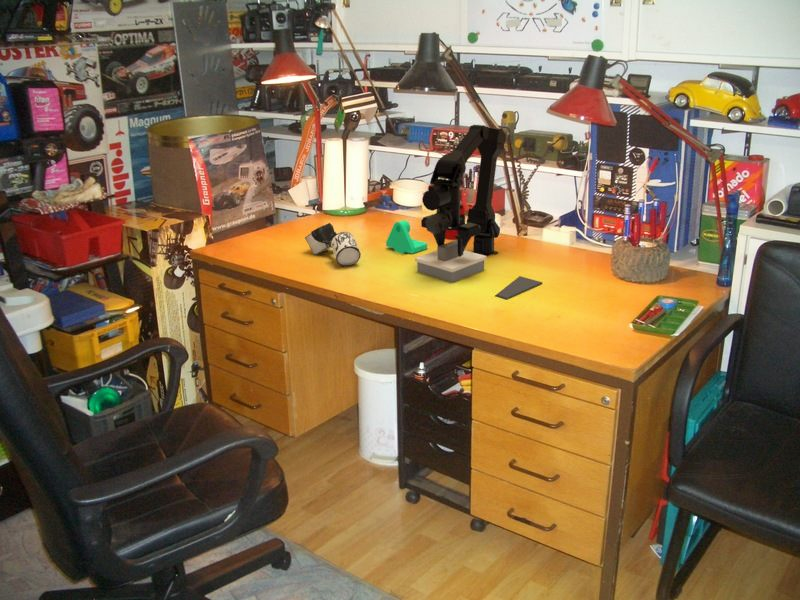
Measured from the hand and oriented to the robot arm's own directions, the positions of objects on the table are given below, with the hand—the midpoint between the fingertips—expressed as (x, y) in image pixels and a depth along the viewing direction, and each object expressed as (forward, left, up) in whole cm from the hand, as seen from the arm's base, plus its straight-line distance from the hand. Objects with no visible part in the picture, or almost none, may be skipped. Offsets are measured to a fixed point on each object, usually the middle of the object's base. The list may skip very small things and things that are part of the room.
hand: (450, 253), depth 233 cm
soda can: (-28, -24, -6) cm, 37 cm away
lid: (0, 0, -2) cm, 2 cm away
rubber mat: (-2, +18, -6) cm, 19 cm away
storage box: (0, 0, -6) cm, 6 cm away
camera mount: (-7, -26, -6) cm, 28 cm away
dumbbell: (+14, -37, -6) cm, 40 cm away
